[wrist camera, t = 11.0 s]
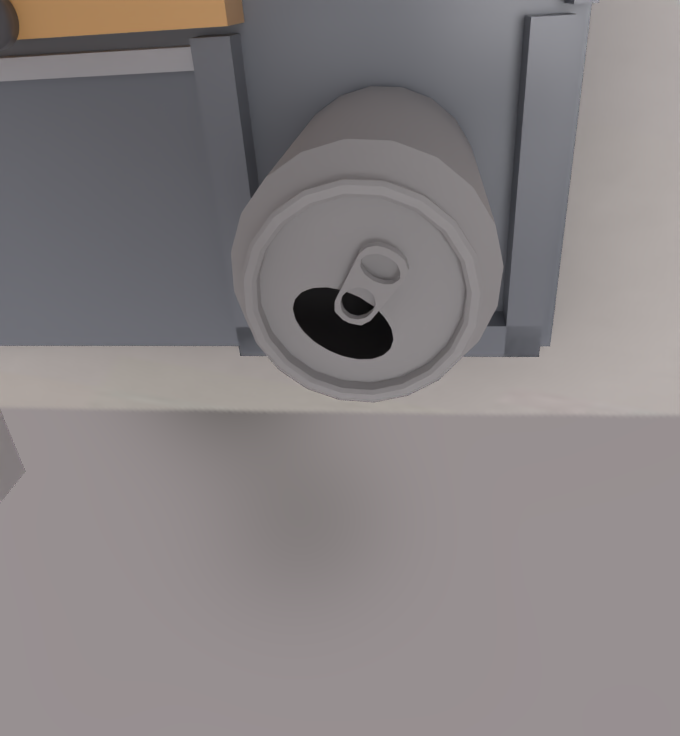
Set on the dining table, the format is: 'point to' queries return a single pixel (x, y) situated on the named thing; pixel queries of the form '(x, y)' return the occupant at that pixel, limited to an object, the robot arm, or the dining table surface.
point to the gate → (110, 17)
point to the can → (370, 249)
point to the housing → (262, 155)
